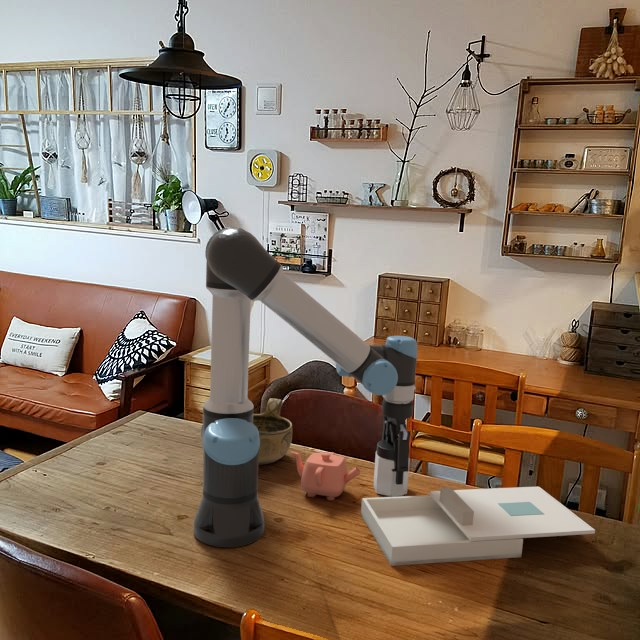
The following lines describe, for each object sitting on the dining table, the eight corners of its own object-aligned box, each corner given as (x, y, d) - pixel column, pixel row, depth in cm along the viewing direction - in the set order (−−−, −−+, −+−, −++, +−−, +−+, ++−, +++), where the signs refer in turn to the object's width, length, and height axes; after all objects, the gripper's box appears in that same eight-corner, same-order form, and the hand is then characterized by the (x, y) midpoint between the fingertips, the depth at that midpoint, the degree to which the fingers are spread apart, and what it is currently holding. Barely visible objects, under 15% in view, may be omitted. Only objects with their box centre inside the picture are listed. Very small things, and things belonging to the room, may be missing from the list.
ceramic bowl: (249, 443, 189) (251, 393, 187) (303, 452, 184) (306, 401, 182) (213, 469, 168) (214, 414, 166) (273, 481, 163) (275, 424, 161)
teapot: (340, 480, 166) (342, 442, 164) (360, 499, 155) (363, 459, 154) (288, 486, 160) (289, 448, 159) (306, 507, 150) (307, 465, 148)
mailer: (391, 565, 126) (392, 546, 125) (360, 514, 147) (362, 498, 146) (521, 557, 132) (523, 538, 131) (474, 509, 153) (475, 493, 152)
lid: (470, 541, 129) (472, 523, 128) (429, 494, 150) (431, 478, 149) (594, 533, 134) (596, 516, 134) (538, 489, 156) (540, 474, 155)
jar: (387, 500, 155) (390, 453, 153) (366, 487, 162) (369, 442, 160) (414, 492, 160) (417, 447, 158) (392, 481, 167) (396, 437, 165)
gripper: (427, 411, 148) (420, 505, 151) (399, 388, 167) (393, 473, 170) (396, 411, 146) (389, 507, 150) (371, 389, 165) (366, 474, 169)
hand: (392, 488), depth 160 cm, fingers closed on jar, 7 cm apart
